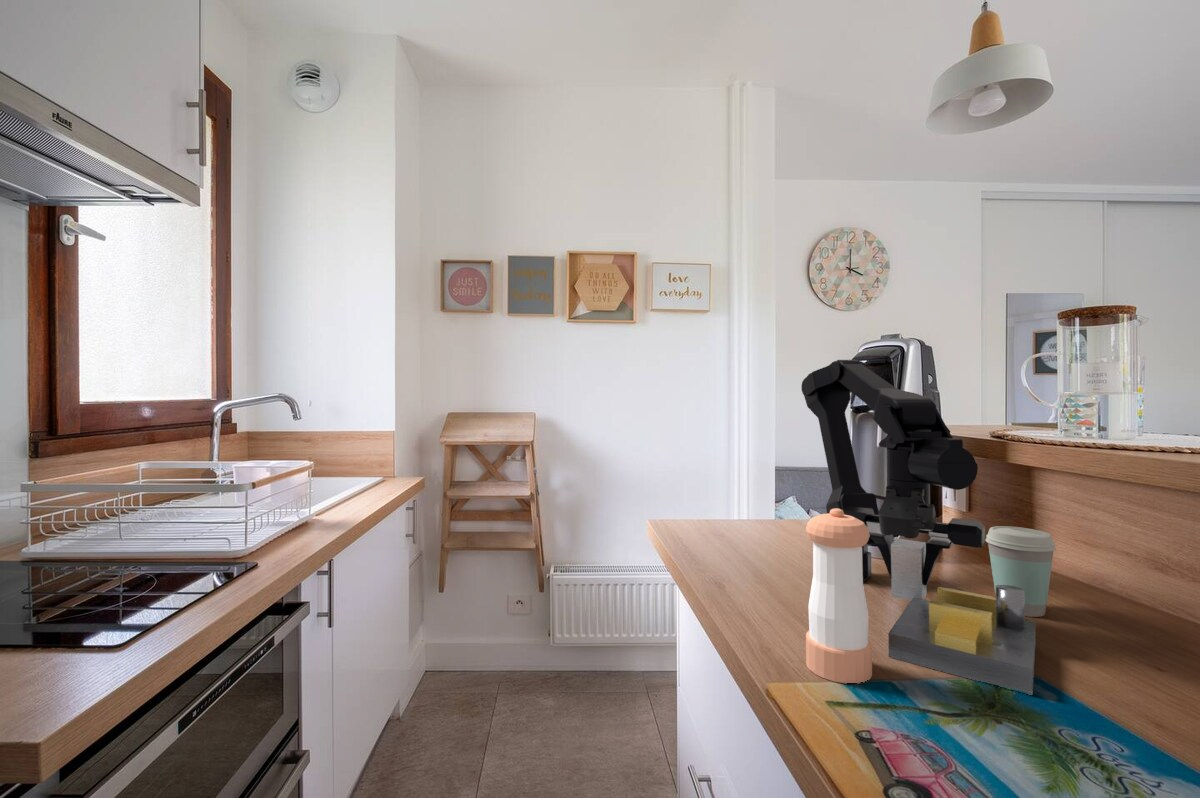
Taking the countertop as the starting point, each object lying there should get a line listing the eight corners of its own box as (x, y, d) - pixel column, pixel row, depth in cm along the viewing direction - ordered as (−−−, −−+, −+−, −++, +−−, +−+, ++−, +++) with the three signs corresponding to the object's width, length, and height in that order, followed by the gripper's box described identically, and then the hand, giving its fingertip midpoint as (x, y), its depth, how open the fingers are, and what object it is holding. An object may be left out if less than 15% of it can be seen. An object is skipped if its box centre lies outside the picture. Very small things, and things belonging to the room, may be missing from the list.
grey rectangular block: (891, 596, 81) (890, 544, 81) (897, 588, 84) (896, 538, 84) (921, 602, 78) (921, 548, 78) (926, 594, 81) (925, 542, 81)
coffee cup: (1071, 622, 77) (1070, 539, 77) (1004, 618, 78) (1003, 537, 78) (1035, 601, 85) (1034, 526, 85) (975, 597, 87) (974, 524, 87)
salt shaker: (840, 689, 59) (839, 517, 59) (792, 660, 66) (791, 506, 66) (886, 676, 62) (884, 512, 62) (836, 649, 69) (834, 501, 69)
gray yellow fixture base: (888, 656, 66) (888, 597, 67) (913, 617, 79) (913, 566, 79) (1032, 696, 57) (1031, 627, 58) (1035, 644, 70) (1034, 587, 70)
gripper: (827, 479, 81) (828, 582, 81) (976, 492, 69) (978, 613, 69) (848, 472, 89) (849, 565, 89) (984, 482, 77) (986, 589, 77)
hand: (908, 581), depth 81 cm, fingers closed on grey rectangular block, 4 cm apart
